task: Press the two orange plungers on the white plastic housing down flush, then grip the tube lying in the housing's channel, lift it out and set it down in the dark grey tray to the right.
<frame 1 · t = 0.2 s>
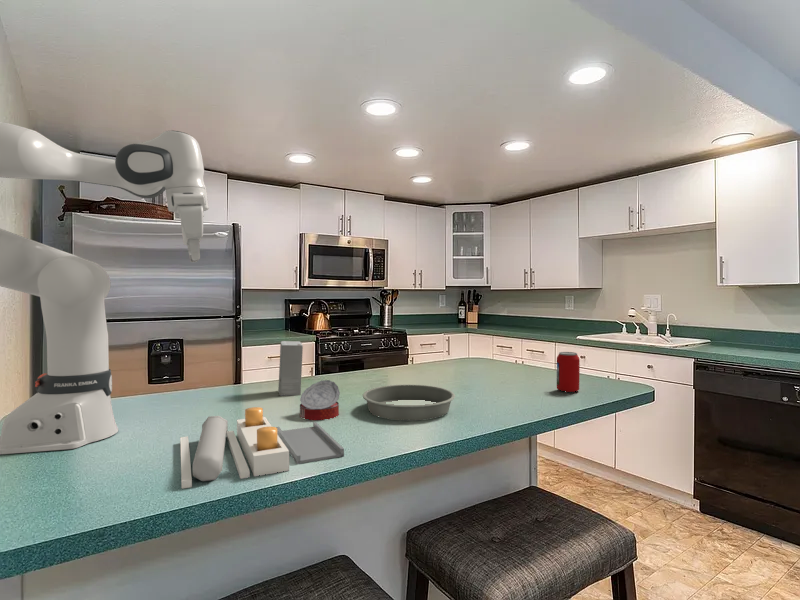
hand: (195, 261, 111), 39 cm above the countertop, tool pointing down, fingers open, 8 cm apart
tray: (307, 444, 96), on the countertop
cake pan: (408, 411, 125), on the countertop
housing: (211, 458, 88), on the countertop
beverage can: (567, 391, 147), on the countertop
skincare box: (290, 393, 145), on the countertop
rear plunger: (254, 417, 99), point 5 cm above the countertop, slide at 0.0 cm
front plunger: (267, 439, 85), point 5 cm above the countertop, slide at 0.0 cm
tube: (211, 460, 89), on the countertop
canned food: (319, 416, 119), on the countertop
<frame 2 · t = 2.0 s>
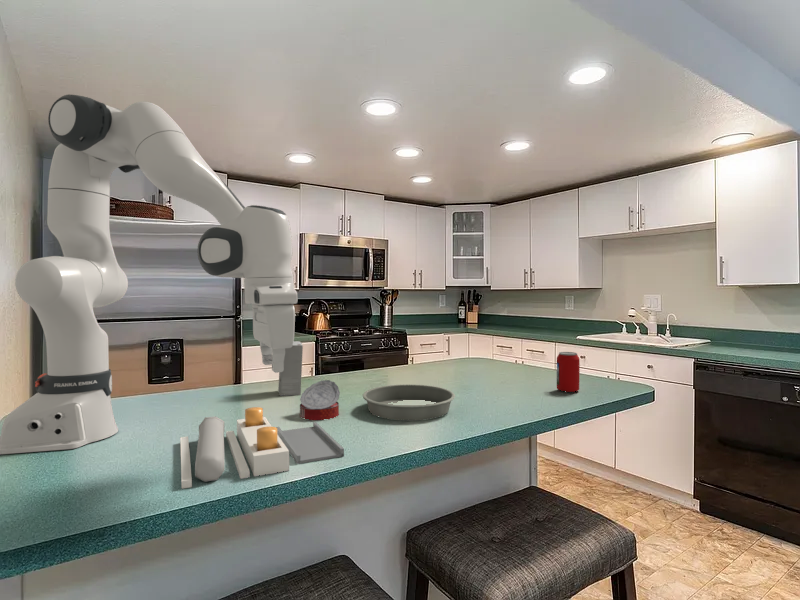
hand: (272, 367, 87), 17 cm above the countertop, tool pointing down, fingers open, 8 cm apart
nothing on the countertop moved.
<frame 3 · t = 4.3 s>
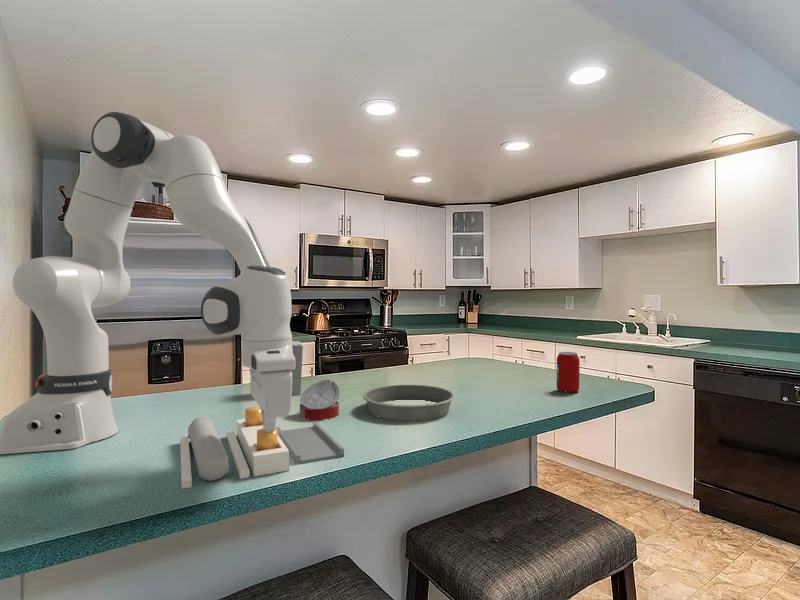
hand: (268, 430, 85), 6 cm above the countertop, tool pointing down, fingers closed, pressing on front plunger
front plunger: (267, 440, 85), point 5 cm above the countertop, slide at -0.2 cm, touching gripper
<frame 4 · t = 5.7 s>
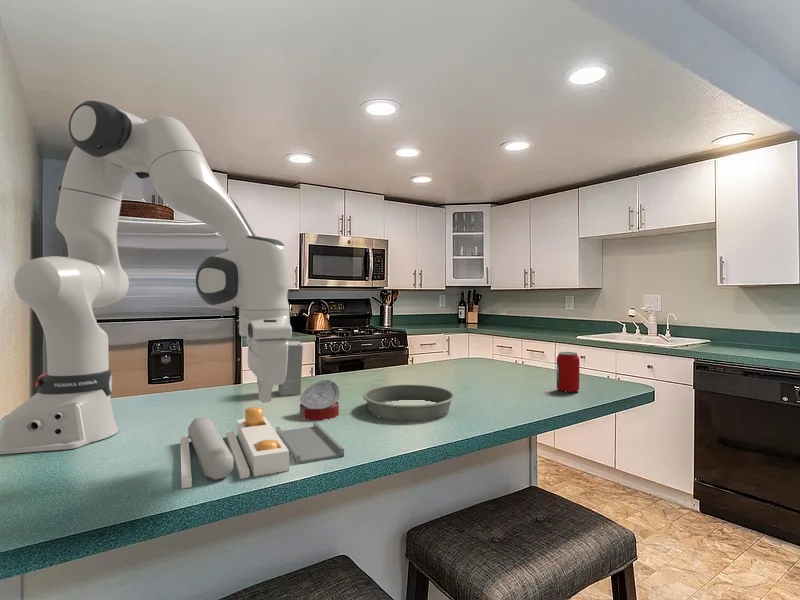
hand: (264, 400, 85), 12 cm above the countertop, tool pointing down, fingers closed
front plunger: (267, 452, 85), point 2 cm above the countertop, slide at -2.5 cm
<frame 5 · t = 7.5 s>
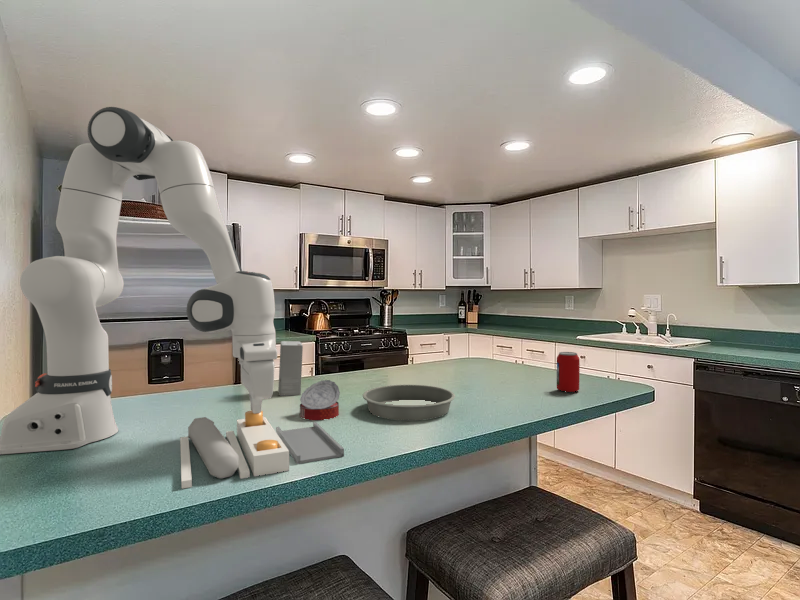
hand: (256, 411, 100), 6 cm above the countertop, tool pointing down, fingers closed, pressing on rear plunger
rear plunger: (254, 420, 100), point 4 cm above the countertop, slide at -0.6 cm, touching gripper
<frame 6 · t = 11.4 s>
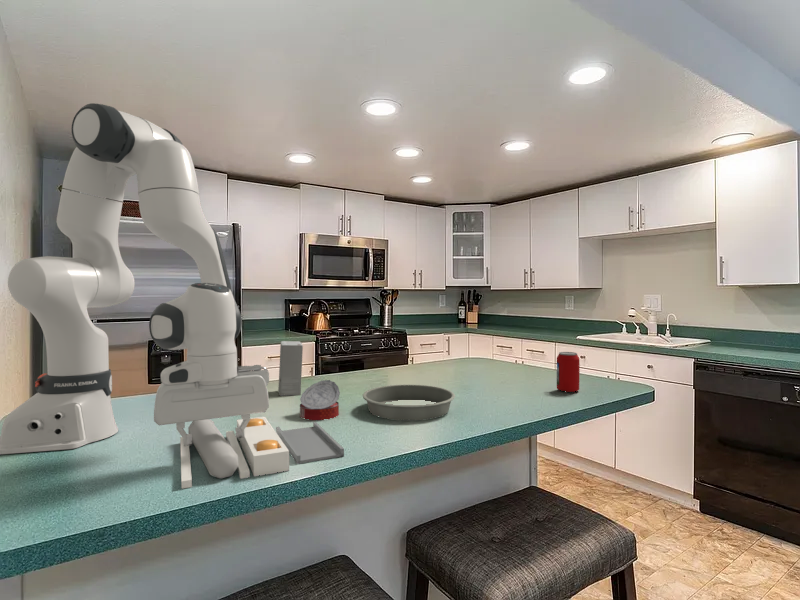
hand: (214, 441, 89), 3 cm above the countertop, tool pointing down, fingers open, 8 cm apart
rear plunger: (254, 428, 100), point 2 cm above the countertop, slide at -2.5 cm
everything else where it was.
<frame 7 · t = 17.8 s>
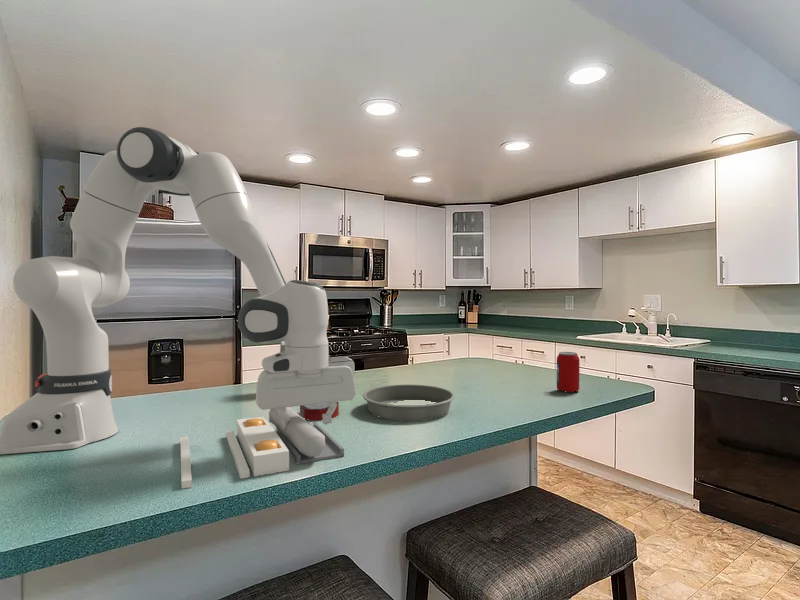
hand: (307, 425, 96), 4 cm above the countertop, tool pointing down, fingers open, 7 cm apart
tube: (296, 441, 96), point 1 cm above the countertop, touching gripper, tray
everything else where it was.
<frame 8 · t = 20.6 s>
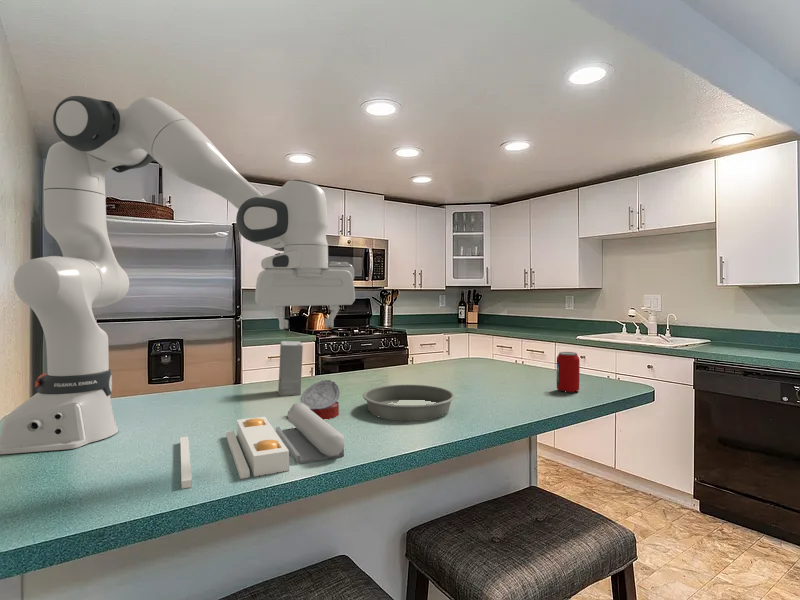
hand: (306, 328, 96), 24 cm above the countertop, tool pointing down, fingers open, 8 cm apart
tube: (303, 430, 96), point 3 cm above the countertop, touching tray
everything else where it was.
at the end: front plunger slide at -2.5 cm; rear plunger slide at -2.5 cm; tube inside the target area (0.9 cm from its centre), point 2.9 cm above the countertop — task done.
